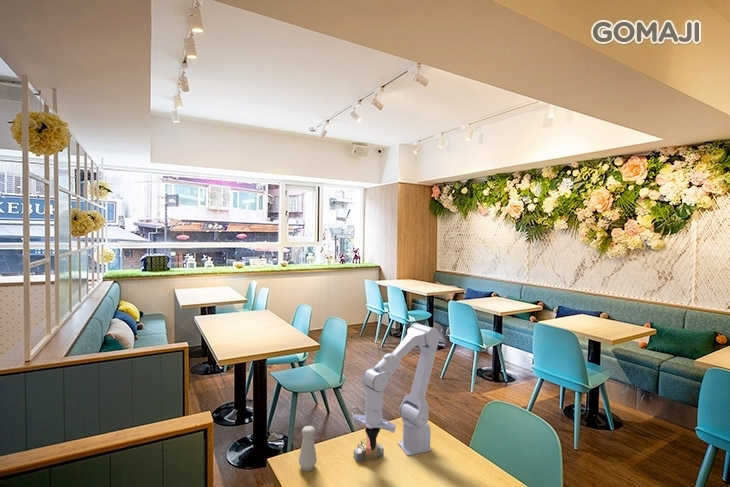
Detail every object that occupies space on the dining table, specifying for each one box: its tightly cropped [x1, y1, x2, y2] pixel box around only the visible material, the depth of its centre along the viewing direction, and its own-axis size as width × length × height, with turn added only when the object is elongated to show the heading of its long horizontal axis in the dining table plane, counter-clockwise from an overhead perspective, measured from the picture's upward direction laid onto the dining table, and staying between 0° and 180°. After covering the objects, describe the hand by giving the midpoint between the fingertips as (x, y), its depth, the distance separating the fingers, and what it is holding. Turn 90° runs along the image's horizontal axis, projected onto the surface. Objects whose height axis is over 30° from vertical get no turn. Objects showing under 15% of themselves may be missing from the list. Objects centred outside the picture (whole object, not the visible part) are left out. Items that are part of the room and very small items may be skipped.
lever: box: [365, 434, 371, 454], centre depth 120 cm, size 9×2×2 cm, turn 178°
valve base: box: [353, 438, 385, 463], centre depth 124 cm, size 10×4×6 cm, turn 111°
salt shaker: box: [298, 425, 317, 472], centre depth 117 cm, size 6×6×13 cm
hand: (372, 448), depth 118 cm, fingers closed, pressing on lever
